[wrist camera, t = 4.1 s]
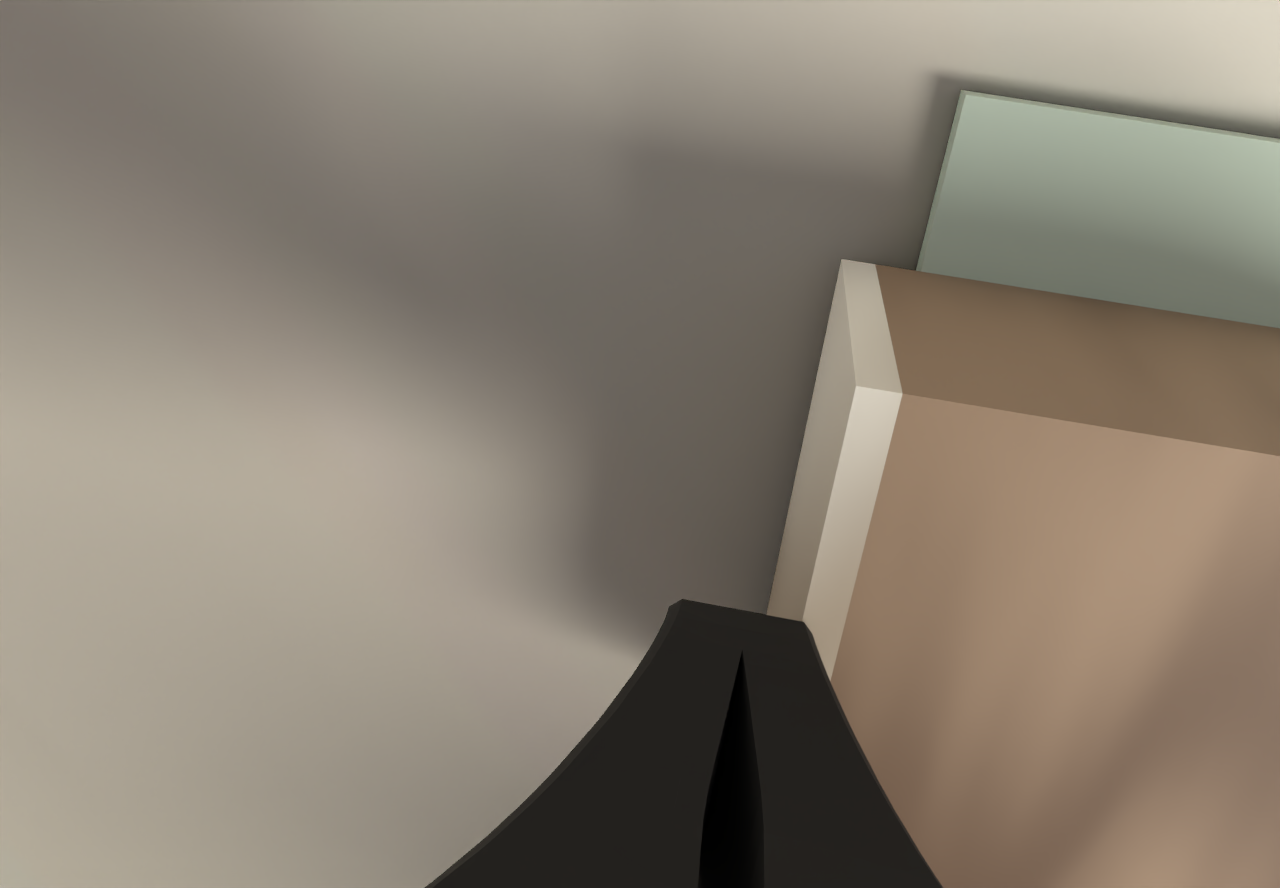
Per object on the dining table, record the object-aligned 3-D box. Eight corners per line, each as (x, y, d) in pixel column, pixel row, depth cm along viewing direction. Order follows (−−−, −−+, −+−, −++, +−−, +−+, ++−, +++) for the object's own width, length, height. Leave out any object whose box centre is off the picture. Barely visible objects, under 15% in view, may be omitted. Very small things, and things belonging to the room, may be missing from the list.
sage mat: (1298, 912, 17) (1309, 933, 16) (780, 809, 17) (780, 828, 17) (1699, 202, 12) (1726, 212, 12) (960, 90, 12) (965, 94, 12)
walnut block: (744, 718, 16) (1230, 809, 16) (726, 945, 12) (1356, 1072, 12) (842, 258, 13) (1449, 354, 13) (856, 385, 9) (1710, 527, 9)
